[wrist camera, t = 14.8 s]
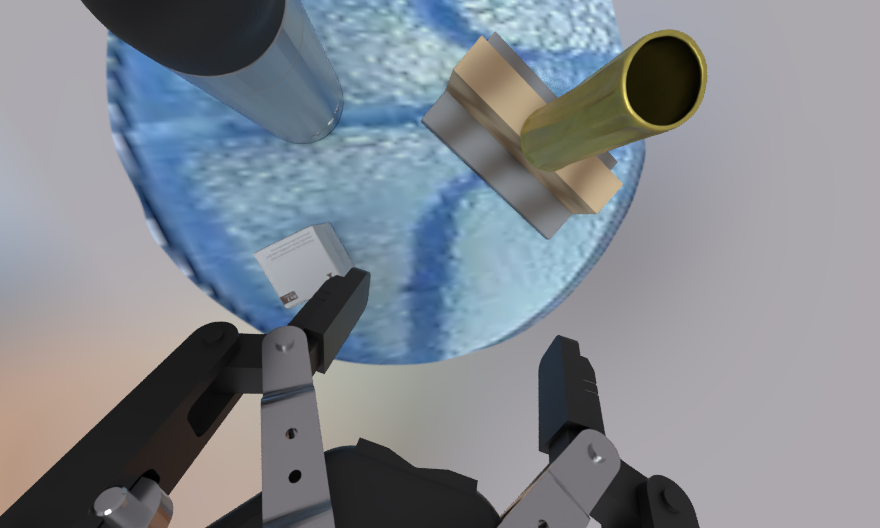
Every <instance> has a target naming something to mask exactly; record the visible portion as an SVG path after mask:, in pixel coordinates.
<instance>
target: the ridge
mask: <svg viewBox="0 0 880 528" xmlns="http://www.w3.org/2000/svg"><path fill="white" fill-rule="evenodd" d="M555 99H557V97H556V96H555V94H554V93H553V92H552V91H551V90H550V89H549V88H548V87H547V86H546V85H545V84H544V83H543V82H542V81H541V80H540V79H539V77H538V76H537V75H536V74H535V73H534V72H533V71H532V70H531V69H530V68H529V67H528V66H527V65H526V64H525V63H524V61H523V60H522V59H521V58H520V57H519V56H518V55H517V54H516V53H515V52H514V51H513V50H512V49H511V48H510V47H509V45H508V44H507V43H506V42H505V41H504V40H503V39H502V38H501V37H500V36H499V35H498V34H497V33H496V32H494V33H493V35H492V36H491V37H490V38H489V39H488V41H487V40H486V39H485V38H484V37H483V36H481V37H480V38H479V39H478V40H477V42H476V43H475V44H474V45H473V46H472V48H471V49H470V50H469V51H468V52H467V54H466V55H465V56H464V57H463V58H462V60H461V61H460V62H459V63H458V64H457V66H456V67H455V68H454V69H453V71H452V74H451V77H450V80H449V83H448V86H447V89H446V91H445V92H444V93H443V94H442V95H441V97H440V98H439V99H438V100H437V101H436V103H435V104H434V105H433V106H432V107H431V109H430V110H429V111H428V112H427V113H426V115H425V116H424V117H423V118H422V120H421V122H422V123H423V124H424V125H425V126H426V127H427V128H428V129H430V130H431V131H432V132H433V133H434V134H435V135H436V136H437V137H438V138H439V139H440V140H441V141H442V142H443V143H444V144H445V145H447V146H448V147H449V148H450V149H451V150H452V151H453V152H454V153H455V154H456V155H457V156H458V157H459V158H460V159H461V160H462V161H464V162H465V163H466V164H467V165H468V166H469V167H470V168H471V169H472V170H473V171H474V172H475V173H476V174H477V175H478V176H479V177H481V178H482V179H483V180H484V181H485V182H486V183H487V184H488V185H489V186H490V187H491V188H492V189H493V190H494V191H495V192H497V193H498V194H499V195H500V196H501V197H502V198H503V199H504V200H505V201H506V202H507V203H508V204H509V205H510V206H511V207H512V208H514V209H515V210H516V211H517V212H518V213H519V214H520V215H521V216H522V217H523V218H524V219H525V220H526V221H527V222H528V223H529V224H531V225H532V226H533V227H534V228H535V229H536V230H537V231H538V232H539V233H540V234H541V235H542V236H543V237H544V238H545V239H548V240H550V239H551V238H552V237H553V235H554V234H555V233H556V232H557V231H558V230H559V229H560V227H561V226H562V225H563V224H564V223H565V222H566V221H567V219H568V218H569V217H570V216H571V215H572V214H598V212H599V211H600V210H601V209H602V208H603V207H604V206H605V204H606V203H607V202H608V201H609V200H610V199H611V198H612V196H613V195H614V194H615V193H616V192H617V191H618V190H619V189H620V187H621V186H622V185H623V183H622V182H621V181H620V180H619V179H618V178H617V177H616V176H615V175H614V174H613V173H612V172H611V171H610V170H611V169H612V168H613V167H614V166H615V165H616V163H617V161H616V160H615V158H614V157H613V156H612V155H611V154H610V153H609V152H608V151H607V152H605V153H602V154H598V155H595V156H593V157H590V158H587V159H584V160H581V161H578V162H575V163H572V164H570V165H567V166H566V167H564V168H562V169H560V170H557V171H552V172H548V171H542V170H539V169H537V168H535V167H534V166H533V165H531V164H530V163H529V162H528V160H527V159H526V158H525V156H524V154H523V151H522V148H521V133H522V128H523V126H524V123H525V121H526V120H527V118H528V117H529V116H530V115H531V114H532V113H533V112H534V111H536V110H537V109H539V108H541V107H543V106H545V105H546V104H548V103H550V102H551V101H553V100H555Z"/></svg>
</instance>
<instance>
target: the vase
mask: <svg viewBox="0 0 880 528" xmlns="http://www.w3.org/2000/svg"><path fill="white" fill-rule="evenodd" d="M706 83H707V64H706V60H705V58H704V55H703V53H702V51H701V50H700V48H699V47H698V45H697V44H696V42H695V41H694V40H693V39H692V38H691V37H690V36H688V35H687V34H685V33H683V32H680V31H677V30H661V31H657V32H653V33H651V34H648V35H646V36H644V37H642V38H641V39H639V40H638V41H636V42H635V43H634V44H632V45H631V46H630V47H628V48H627V49H626V50H625V51H623V52H622V53H621V54H619V55H618V56H617V57H615V58H614V59H613V60H611V61H610V62H609V63H607V64H606V65H604V66H603V67H602V68H600V69H599V70H597V71H596V72H595V73H594V74H592V75H591V76H589V77H588V78H587V79H585V80H584V81H583V82H581V83H580V84H579V85H578V86H576V87H575V88H574V89H572V90H570V91H569V92H567V93H565V94H564V95H562V96H560V97H558V98H557V99H555V100H553V101H551V102H550V103H548V104H546V105H545V106H543V107H541V108H539V109H537V110H536V111H534V112H533V113H532V114H531V115H530V116H529V117H528V118H527V120H526V121H525V123H524V126H523V128H522V133H521V148H522V151H523V154H524V156H525V158H526V159H527V160H528V162H529V163H530V164H531V165H533V166H534V167H535V168H537V169H539V170H542V171H548V172H552V171H557V170H560V169H562V168H564V167H566V166H567V165H570V164H572V163H575V162H578V161H581V160H584V159H587V158H590V157H593V156H595V155H598V154H602V153H605V152H607V151H610V150H613V149H615V148H618V147H621V146H624V145H627V144H629V143H632V142H635V141H638V140H642V139H645V138H648V137H651V136H654V135H658V134H661V133H664V132H667V131H669V130H672V129H675V128H677V127H678V126H680V125H682V124H683V123H684V122H686V121H687V120H688V119H689V118H690V117H692V116H693V115H694V113H695V112H696V111H697V109H698V108H699V106H700V104H701V102H702V99H703V97H704V93H705V88H706Z"/></svg>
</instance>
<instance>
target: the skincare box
mask: <svg viewBox="0 0 880 528" xmlns="http://www.w3.org/2000/svg"><path fill="white" fill-rule="evenodd" d="M254 256H255V258H256V260H257V261H258V263H259V265H260V266H261V268H262V270H263V271H264V273H265V274H266V276H267V278H268V279H269V281H270V282H271V284H272V286H273V287H274V289H275V291H276V292H277V294H278V296H279V297H280V299H281V300H282V302H283V304H284V306H285V307H286V309H289V308H292V307H294V306H296V305H298V304H300V303H302V302H305V301H307V300H309V299H310V298H312V297H313V295H314V294H315V293H316V291H318V289H319V288H320V287H321V286H322V284H323V283H324V282H325V281H326V280H328V279H330V278H332V277H333V276H335V275H339V276H342V277H344V276H345V275H346V274H347V273H348V271H349V270H350V269H351V268H352V267H354V265H353V263H352V261H351V260H350V258H349V256H348V254H347V253H346V251H345V249H344V247H343V246H342V244H341V242H340V240H339V239H338V237H337V235H336V233H335V231H334V230H333V228H332V226H331V224H330V223H324V224H318V225H311V226H309V227H307V228H304V229H302V230H300V231H298V232H296V233H294V234H292V235H290V236H288V237H285V238H283V239H281V240H279V241H277V242H275V243H273V244H271V245H269V246H267V247H265V248H263V249H261V250H260V251H258V252H256V253H254Z"/></svg>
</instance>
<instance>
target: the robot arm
mask: <svg viewBox="0 0 880 528" xmlns="http://www.w3.org/2000/svg"><path fill="white" fill-rule="evenodd" d="M81 1H82V2H83V4H84V5H85V6H86V7H87V8H88V9H89V10H90V12H91V13H92V14H93V15H94V16H95V17H96V18H97V19H98V20H99V21H100V22H101V23H102V24H103V25H104V26H105V27H106V28H107V29H109V30H110V31H111V32H112V33H114V34H115V35H116V36H117V37H119V38H120V39H122V40H123V41H124V42H126V43H127V44H129V45H130V46H132V47H133V48H135V49H136V50H138V51H140V52H141V53H143V54H145V55H146V56H148V57H149V58H151V59H153V60H154V61H156V62H158V63H159V64H161V65H162V66H164V67H166V68H167V69H169V70H170V71H172V72H174V73H175V74H177V75H179V76H180V77H182V78H183V79H185V80H187V81H188V82H190V83H191V84H193V85H195V86H197V87H198V88H200V89H202V90H203V91H205V92H206V93H208V94H210V95H211V96H213V97H214V98H216V99H218V100H219V101H221V102H222V103H224V104H226V105H227V106H229V107H231V108H232V109H234V110H235V111H237V112H239V113H240V114H242V115H243V116H245V117H247V118H248V119H250V120H251V121H253V122H255V123H256V124H258V125H259V126H261V127H262V128H264V129H266V130H267V131H269V132H270V133H272V134H274V135H275V136H277V137H279V138H281V139H283V140H286V141H289V142H292V143H300V144H303V143H311V142H315V141H318V140H320V139H322V138H323V137H325V136H327V135H328V134H329V133H330V132H331V131H332V130H333V129H334V128H335V126H336V124H337V123H338V121H339V119H340V116H341V113H342V107H343V95H342V90H341V86H340V83H339V81H338V79H337V77H336V75H335V73H334V70H333V68H332V66H331V64H330V61H329V59H328V57H327V55H326V53H325V51H324V49H323V47H322V45H321V43H320V40H319V38H318V36H317V34H316V32H315V30H314V28H313V26H312V24H311V22H310V20H309V17H308V15H307V13H306V11H305V9H304V7H303V5H302V3H301V1H300V0H81ZM369 286H370V272H367V271H364V270H361V269H358V268H355V267H352V268H351V269H350V270H349V271H348V273H347V274H346V275H345V276H344V277H342V276H339V275H335V276H333V277H332V278H330V279H328V280H326V281H325V282H324V283H323V284H322V286H321V287H320V288H319V289H318V291H316V293H315V294H314V295H313V297H312V298H310V300H309V301H308V302H307V303H306V304H305V305H304V307H303V308H302V309H301V310H300V311H299V312H298V314H297V315H296V316H295V317H294V318H293V319H292V321H291V322H290V323H289V324H288V325H287V326H283V327H279V328H276V329H274V330H272V331H271V332H269V333H268V334H243V333H238V330H237V328H236V327H235V326H234V325H233V324H231V323H228V322H212V323H209V324H206V325H204V326H202V327H200V328H198V329H197V330H196V331H194V332H193V333H192V334H191V335H190V336H189V337H188V338H187V339H186V340H185V341H184V342H183V343H182V344H181V345H180V346H179V347H178V348H176V349H175V350H174V351H173V352H172V353H171V354H170V355H169V356H168V357H167V358H166V359H165V360H164V361H163V362H162V363H161V364H160V365H159V366H158V367H157V368H156V369H155V370H153V371H152V372H151V373H150V374H149V375H148V376H147V377H146V378H145V379H144V380H143V381H142V382H141V383H140V384H139V385H138V386H137V387H136V388H135V389H134V390H132V391H131V392H130V393H129V394H128V395H127V396H126V397H125V398H124V399H123V400H122V401H121V402H120V403H119V404H118V405H117V406H116V407H115V408H114V409H113V410H111V411H110V412H109V413H108V414H107V415H106V416H105V417H104V418H103V419H102V420H101V421H100V422H99V423H98V424H97V425H96V426H95V427H94V428H93V429H91V430H90V431H89V432H88V434H86V435H85V436H84V437H83V438H82V439H81V440H80V441H79V442H78V443H77V444H76V445H75V446H74V447H73V448H72V449H71V450H70V451H69V452H68V453H66V454H65V455H64V456H63V457H62V458H61V459H60V460H59V461H58V462H57V463H56V464H55V465H54V466H53V467H52V468H51V469H50V470H49V471H47V472H46V473H45V474H44V475H43V476H42V477H41V478H40V479H39V480H38V481H37V482H36V483H35V484H34V485H33V486H32V487H31V488H30V489H29V490H28V491H27V492H25V493H24V494H23V495H22V496H21V497H20V498H19V499H18V500H17V501H16V502H15V503H14V504H13V505H12V506H11V507H10V508H9V509H8V510H7V511H5V513H3V514H2V515H1V516H0V528H167V527H168V525H169V523H170V521H171V518H172V515H173V503H172V500H171V499H170V497H169V496H168V495H169V494H170V493H171V491H172V490H173V488H174V487H175V486H176V484H177V483H178V482H179V480H180V479H181V478H182V476H183V475H184V474H185V472H186V471H187V469H188V468H189V467H190V465H191V464H192V463H193V461H194V460H195V459H196V457H197V456H198V455H199V453H200V452H201V450H202V449H203V448H204V446H205V445H206V444H207V442H208V441H209V440H210V438H211V437H212V435H213V434H214V433H215V431H216V430H217V429H218V427H219V426H220V425H221V423H222V422H223V421H224V419H225V418H226V417H227V415H228V414H229V412H230V411H231V410H232V408H233V407H234V406H235V404H236V403H237V402H238V400H239V399H240V398H241V396H242V395H243V393H245V394H246V393H250V394H263V398H262V399H261V448H262V450H261V452H262V491H261V492H260V493H258V494H257V495H256V496H254V497H252V498H251V499H249V500H248V501H246V502H244V503H243V504H241V505H240V506H238V507H237V508H235V509H234V510H232V511H231V512H229V513H227V514H226V515H224V516H223V517H221V518H220V519H218V520H217V521H215V522H213V523H212V524H210V525H209V526H207V527H206V528H586V527H587V525H588V523H589V521H590V518H589V515H590V516H591V517H592V518H594V519H595V520H596V521H598V522H599V523H600V524H601V526H602V528H700V527H699V524H698V520H697V517H696V513H695V510H694V507H693V505H692V503H691V501H690V499H689V498H688V496H687V495H686V494H685V492H684V491H683V490H682V489H681V488H680V487H679V486H678V485H677V484H676V483H675V482H674V481H672V480H671V479H669V478H667V477H665V476H662V475H654V476H651V477H650V478H647V477H645V476H644V475H642V474H641V473H639V472H638V471H637V470H635V469H634V468H632V467H631V466H629V465H628V464H626V463H625V462H624V461H622V460H621V459H620V457H619V454H618V452H617V449H616V448H615V447H614V445H613V443H612V442H611V441H610V440H609V439H608V438H607V437H606V435H605V431H604V425H603V419H602V413H601V407H600V402H599V396H598V390H597V386H596V378H595V372H594V369H593V368H592V366H591V364H590V362H589V360H588V359H587V358H585V357H582V356H580V351H579V343H578V342H577V341H575V340H572V339H569V338H566V337H563V336H560V335H557V336H556V338H555V339H554V340H553V342H552V344H551V345H550V346H549V348H548V350H547V351H546V352H545V354H544V356H543V357H542V359H541V362H540V365H539V375H538V376H539V377H538V378H539V451H540V452H543V453H546V454H549V464H548V465H547V466H546V467H545V468H544V469H543V471H541V472H540V474H539V475H538V476H537V477H536V478H535V479H534V480H533V481H532V483H531V484H530V485H529V486H528V487H527V488H526V489H525V490H524V491H523V492H522V493H521V495H520V496H519V497H518V498H517V499H516V500H515V501H514V502H513V503H512V504H511V505H510V506H509V507H508V508H507V509H506V511H505V512H504V513H503V514H502V515H501V516H499V515H498V513H497V512H496V511H495V509H494V507H493V506H492V505H491V504H490V502H489V501H488V500H487V499H486V498H485V497H484V496H483V495H482V494H481V493H479V492H478V491H477V482H478V481H477V480H475V479H472V478H469V477H467V476H464V475H461V474H458V473H456V472H453V471H450V470H444V469H428V468H416V467H414V466H412V465H411V464H410V463H408V462H407V461H406V460H404V459H403V458H401V457H400V456H399V455H397V454H396V453H395V452H393V451H392V450H390V449H389V448H387V447H384V446H382V445H379V444H376V443H374V442H371V441H368V440H365V439H363V438H359V441H358V443H357V445H356V446H341V447H337V448H333V449H330V450H327V451H325V452H323V444H322V437H321V430H320V423H319V417H318V409H317V402H316V395H315V389H314V386H313V380H312V377H313V375H314V374H315V372H316V371H318V372H320V373H323V374H325V372H326V371H327V369H328V368H329V366H330V364H331V363H332V361H333V360H334V358H335V356H336V355H337V353H338V352H339V350H340V348H341V347H342V345H343V344H344V342H345V340H346V339H347V337H348V336H349V334H350V332H351V331H352V329H353V328H354V326H355V324H356V323H357V321H358V320H359V318H360V316H361V315H362V313H363V312H364V310H365V307H366V305H367V301H368V296H369Z"/></svg>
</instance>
